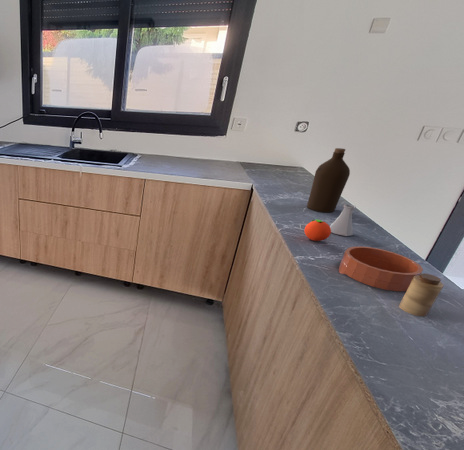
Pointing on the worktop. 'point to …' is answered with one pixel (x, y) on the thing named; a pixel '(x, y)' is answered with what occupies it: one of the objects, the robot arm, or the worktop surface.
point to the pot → (379, 268)
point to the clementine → (317, 230)
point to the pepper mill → (421, 294)
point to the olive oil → (329, 183)
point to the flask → (344, 222)
